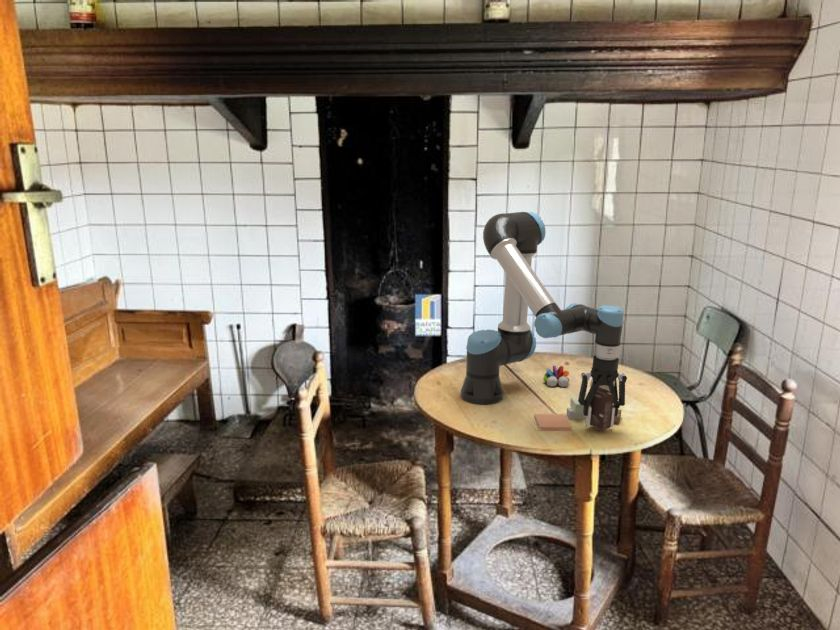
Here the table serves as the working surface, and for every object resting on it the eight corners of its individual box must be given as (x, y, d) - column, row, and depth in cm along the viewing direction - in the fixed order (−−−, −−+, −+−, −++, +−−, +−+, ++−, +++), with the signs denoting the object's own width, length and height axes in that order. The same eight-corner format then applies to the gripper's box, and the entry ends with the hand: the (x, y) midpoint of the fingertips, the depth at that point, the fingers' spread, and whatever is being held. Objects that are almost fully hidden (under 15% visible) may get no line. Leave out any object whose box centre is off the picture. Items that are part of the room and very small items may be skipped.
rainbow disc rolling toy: (571, 388, 236) (572, 369, 234) (544, 388, 236) (546, 369, 234) (566, 380, 244) (567, 362, 242) (541, 379, 244) (542, 361, 242)
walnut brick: (618, 425, 206) (619, 416, 205) (608, 423, 207) (609, 415, 206) (620, 418, 211) (621, 409, 210) (611, 416, 212) (612, 408, 211)
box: (586, 424, 202) (590, 389, 199) (596, 421, 205) (599, 386, 202) (601, 431, 198) (605, 395, 194) (611, 428, 200) (615, 392, 197)
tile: (539, 429, 201) (539, 427, 201) (534, 416, 211) (534, 413, 211) (571, 430, 201) (571, 427, 201) (564, 417, 211) (564, 414, 211)
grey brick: (569, 419, 209) (569, 411, 209) (566, 416, 212) (567, 407, 212) (587, 419, 210) (587, 410, 209) (583, 415, 213) (584, 407, 212)
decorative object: (582, 401, 229) (604, 398, 233) (600, 404, 219) (623, 400, 223) (578, 366, 229) (601, 363, 232) (596, 367, 219) (620, 364, 223)
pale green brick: (584, 412, 208) (584, 404, 207) (575, 413, 207) (575, 404, 207) (579, 405, 213) (579, 397, 213) (570, 405, 213) (570, 397, 212)
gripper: (576, 359, 191) (570, 429, 198) (642, 361, 191) (633, 431, 197) (571, 351, 198) (565, 419, 205) (634, 352, 198) (626, 420, 205)
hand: (599, 424), depth 201 cm, fingers closed on box, 7 cm apart
